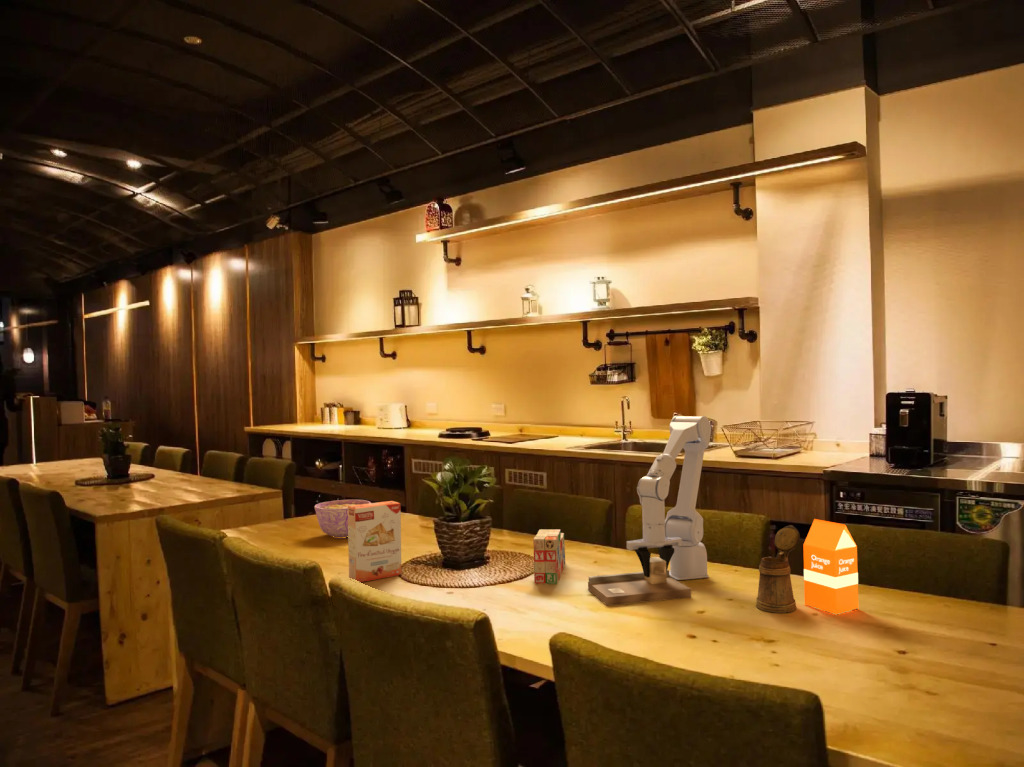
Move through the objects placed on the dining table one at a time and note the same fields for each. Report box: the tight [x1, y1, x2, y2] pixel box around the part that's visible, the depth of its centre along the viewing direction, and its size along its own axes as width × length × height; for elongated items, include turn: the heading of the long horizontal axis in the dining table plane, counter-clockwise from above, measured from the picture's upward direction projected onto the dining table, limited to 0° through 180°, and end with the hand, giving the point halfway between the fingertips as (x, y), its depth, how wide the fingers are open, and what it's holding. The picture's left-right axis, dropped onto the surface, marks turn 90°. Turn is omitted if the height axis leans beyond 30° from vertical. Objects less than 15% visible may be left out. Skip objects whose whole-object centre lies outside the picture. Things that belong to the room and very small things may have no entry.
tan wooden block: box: [644, 556, 667, 584], centre depth 187 cm, size 4×5×6 cm
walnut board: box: [587, 569, 692, 606], centre depth 184 cm, size 22×14×4 cm, turn 103°
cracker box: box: [347, 500, 402, 583], centre depth 205 cm, size 14×6×21 cm, turn 125°
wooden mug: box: [755, 524, 801, 614], centre depth 172 cm, size 9×14×18 cm, turn 133°
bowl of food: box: [314, 499, 372, 537], centre depth 263 cm, size 20×20×12 cm
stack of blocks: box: [532, 528, 566, 585], centre depth 205 cm, size 21×6×12 cm, turn 170°
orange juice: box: [802, 518, 859, 614], centre depth 169 cm, size 8×9×20 cm
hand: (655, 575), depth 187 cm, fingers closed on tan wooden block, 4 cm apart
